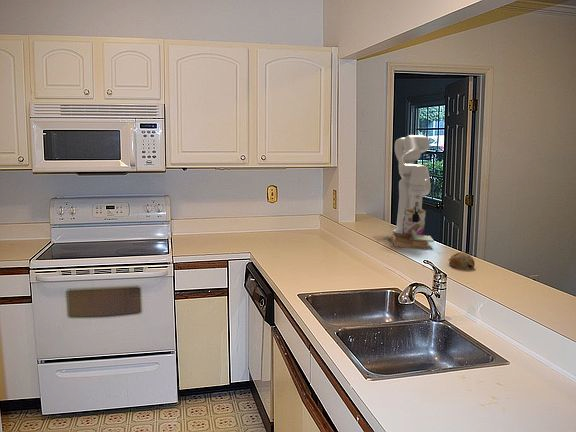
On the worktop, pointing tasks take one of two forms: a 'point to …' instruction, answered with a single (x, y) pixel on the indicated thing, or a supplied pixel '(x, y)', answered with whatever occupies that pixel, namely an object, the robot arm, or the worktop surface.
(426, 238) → the lid
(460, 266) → the bread roll
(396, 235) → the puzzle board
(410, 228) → the candy bar box
